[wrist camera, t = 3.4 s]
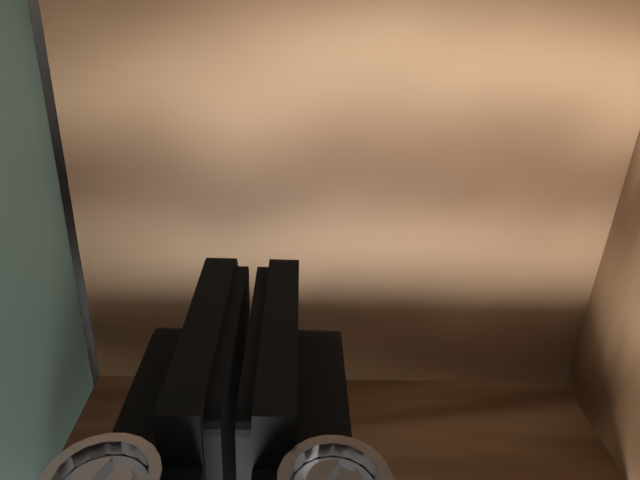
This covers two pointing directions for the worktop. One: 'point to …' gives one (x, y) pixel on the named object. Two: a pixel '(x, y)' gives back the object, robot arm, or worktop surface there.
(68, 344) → the tailgate
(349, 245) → the shelf
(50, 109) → the worktop surface
